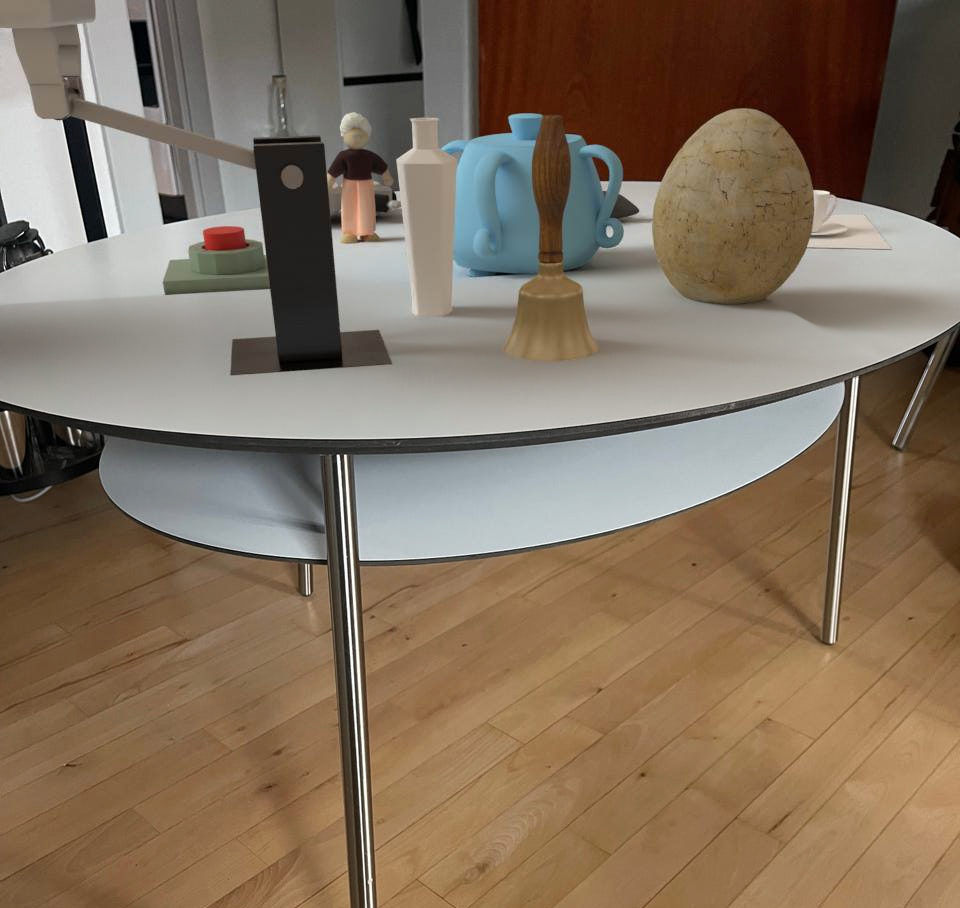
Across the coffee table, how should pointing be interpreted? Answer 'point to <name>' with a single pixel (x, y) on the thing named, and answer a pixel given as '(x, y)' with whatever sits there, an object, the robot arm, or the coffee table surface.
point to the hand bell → (551, 265)
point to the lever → (158, 131)
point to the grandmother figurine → (357, 180)
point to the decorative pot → (527, 202)
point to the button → (224, 238)
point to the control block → (218, 270)
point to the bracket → (300, 268)
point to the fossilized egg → (733, 210)
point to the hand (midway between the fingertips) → (62, 113)
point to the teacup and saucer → (841, 228)
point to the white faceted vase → (428, 218)
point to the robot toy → (383, 199)
